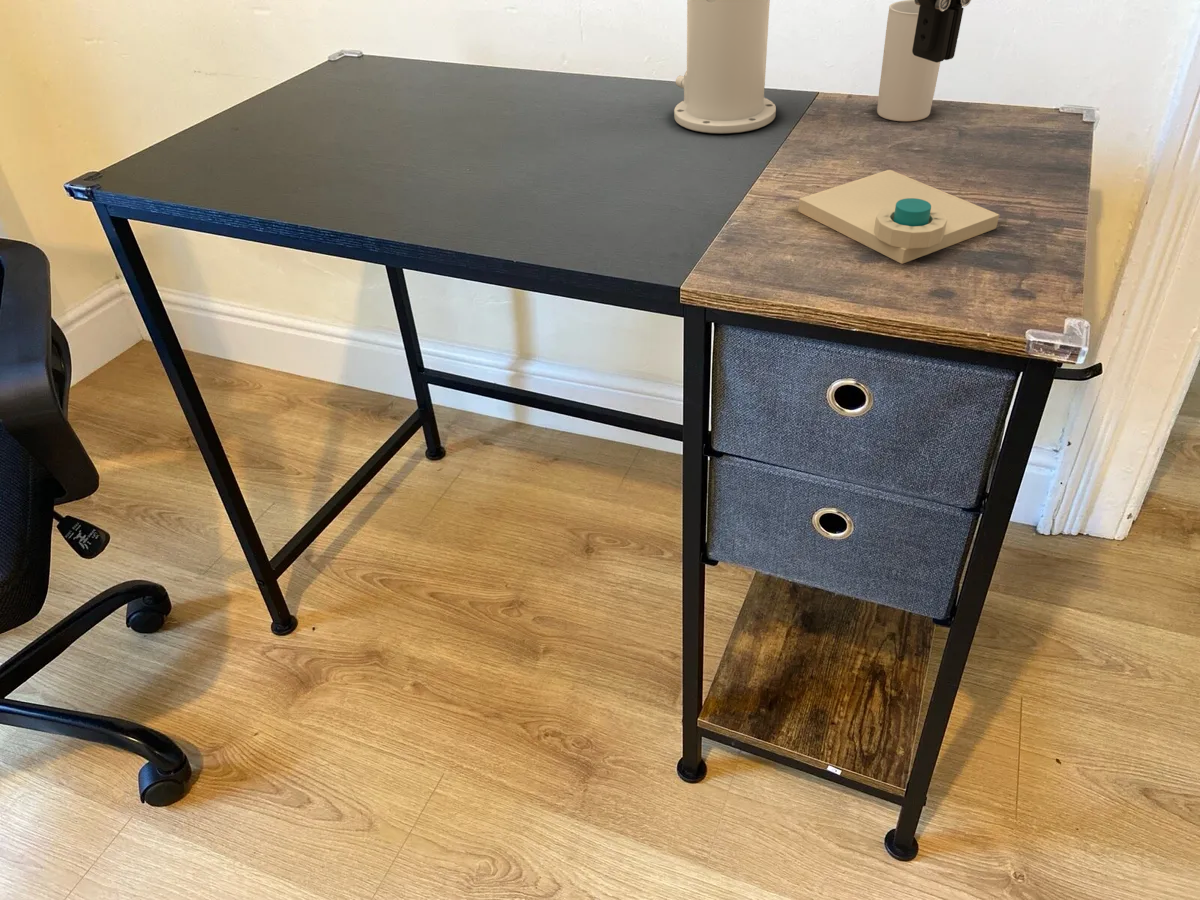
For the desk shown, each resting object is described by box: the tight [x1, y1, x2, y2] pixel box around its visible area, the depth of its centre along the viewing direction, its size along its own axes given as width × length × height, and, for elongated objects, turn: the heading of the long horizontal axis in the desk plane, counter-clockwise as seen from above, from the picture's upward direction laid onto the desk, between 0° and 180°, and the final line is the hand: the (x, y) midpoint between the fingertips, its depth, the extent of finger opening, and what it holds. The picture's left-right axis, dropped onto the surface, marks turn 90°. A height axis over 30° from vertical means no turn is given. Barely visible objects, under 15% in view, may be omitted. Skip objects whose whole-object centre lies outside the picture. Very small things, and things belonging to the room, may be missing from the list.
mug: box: [876, 0, 941, 122], centre depth 105 cm, size 10×7×12 cm, turn 149°
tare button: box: [893, 198, 931, 227], centre depth 78 cm, size 3×3×2 cm
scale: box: [797, 169, 1000, 265], centre depth 83 cm, size 15×12×3 cm
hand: (932, 56), depth 74 cm, fingers closed
